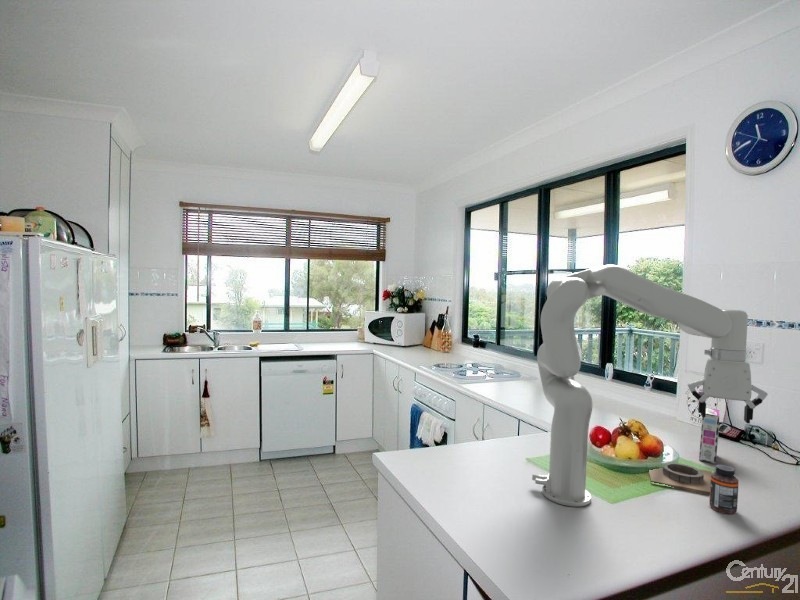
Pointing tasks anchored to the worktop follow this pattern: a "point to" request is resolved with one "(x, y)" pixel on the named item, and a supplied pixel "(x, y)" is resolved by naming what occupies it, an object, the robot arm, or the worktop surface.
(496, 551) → the worktop surface
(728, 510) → the supplement bottle
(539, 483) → the robot arm
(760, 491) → the worktop surface
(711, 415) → the candy bar box
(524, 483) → the worktop surface
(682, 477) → the collar board
